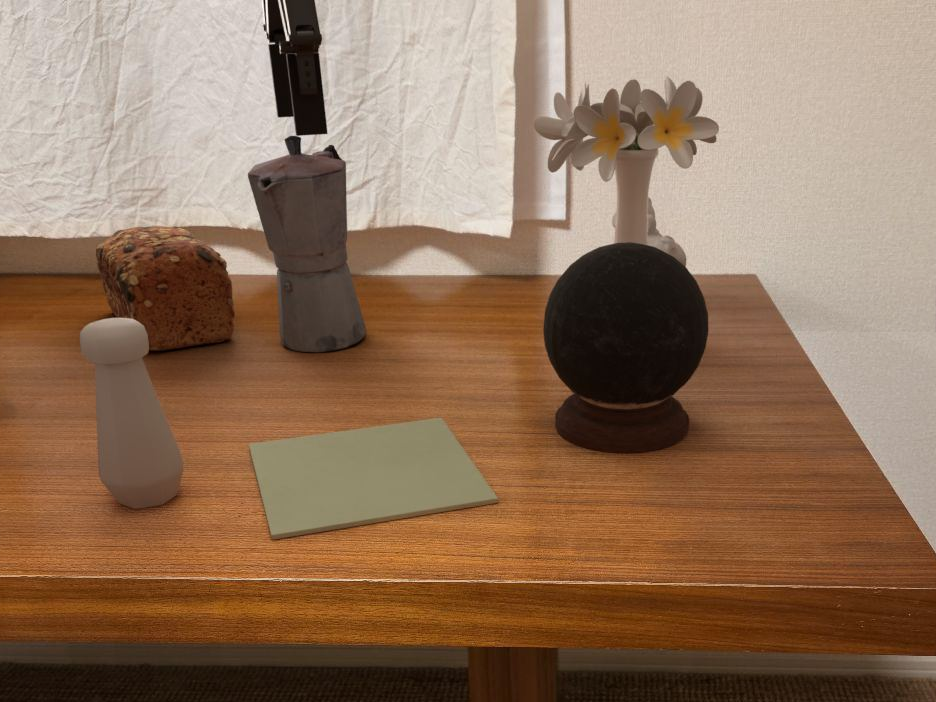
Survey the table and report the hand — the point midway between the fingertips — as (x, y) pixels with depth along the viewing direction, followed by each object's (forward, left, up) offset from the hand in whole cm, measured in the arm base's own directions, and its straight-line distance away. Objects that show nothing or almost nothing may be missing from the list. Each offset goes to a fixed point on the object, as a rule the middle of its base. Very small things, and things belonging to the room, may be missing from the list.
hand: (301, 125), depth 95 cm
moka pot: (0, 0, -21) cm, 21 cm away
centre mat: (-2, -34, -21) cm, 40 cm away
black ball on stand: (+20, -32, -21) cm, 43 cm away
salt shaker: (-18, -32, -21) cm, 42 cm away
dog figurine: (+38, +3, -21) cm, 43 cm away
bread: (-15, +10, -21) cm, 28 cm away
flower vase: (+28, -13, -21) cm, 37 cm away
